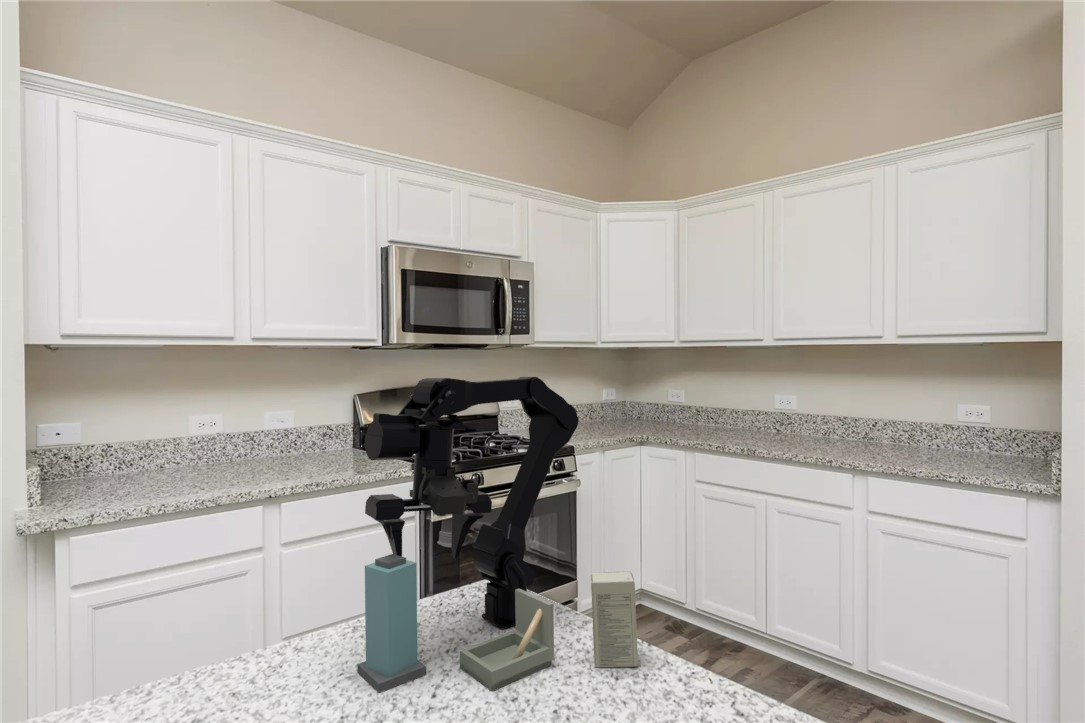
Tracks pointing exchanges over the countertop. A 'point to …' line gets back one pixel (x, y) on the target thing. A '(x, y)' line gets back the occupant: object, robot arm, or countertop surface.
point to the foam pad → (384, 682)
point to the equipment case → (514, 645)
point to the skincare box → (614, 619)
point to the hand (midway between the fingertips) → (427, 561)
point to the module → (391, 614)
